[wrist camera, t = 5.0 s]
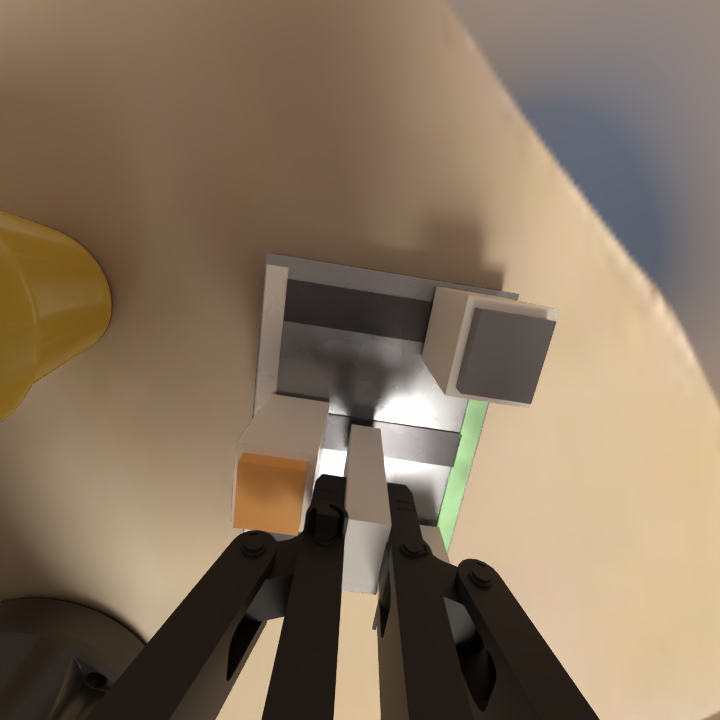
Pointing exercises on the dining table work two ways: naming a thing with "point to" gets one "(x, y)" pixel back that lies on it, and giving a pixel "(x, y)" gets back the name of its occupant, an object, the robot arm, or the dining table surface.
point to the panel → (369, 374)
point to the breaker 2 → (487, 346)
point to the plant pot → (44, 304)
